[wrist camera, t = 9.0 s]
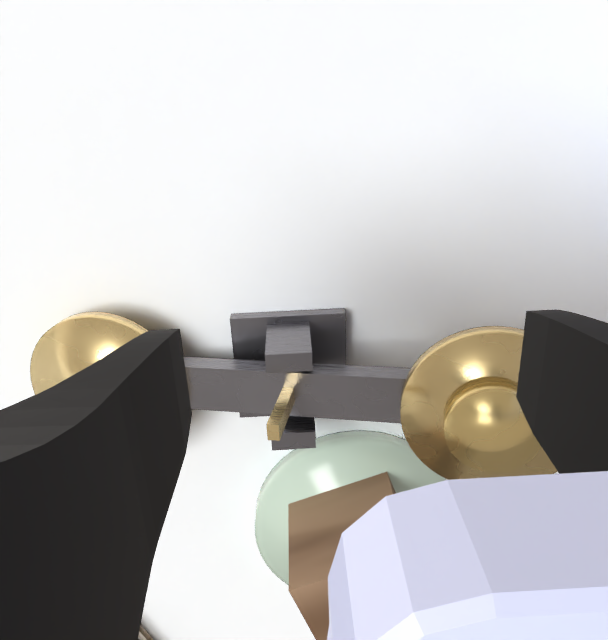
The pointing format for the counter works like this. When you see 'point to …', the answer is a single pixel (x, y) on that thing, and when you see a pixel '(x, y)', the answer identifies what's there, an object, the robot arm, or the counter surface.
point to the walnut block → (325, 542)
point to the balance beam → (315, 384)
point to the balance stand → (291, 354)
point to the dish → (329, 482)
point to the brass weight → (488, 426)
